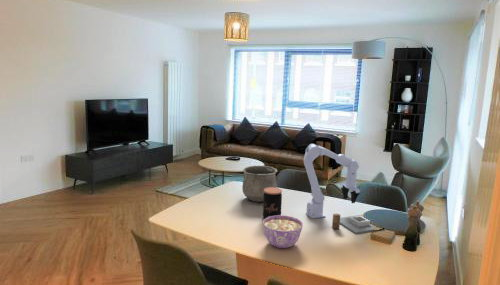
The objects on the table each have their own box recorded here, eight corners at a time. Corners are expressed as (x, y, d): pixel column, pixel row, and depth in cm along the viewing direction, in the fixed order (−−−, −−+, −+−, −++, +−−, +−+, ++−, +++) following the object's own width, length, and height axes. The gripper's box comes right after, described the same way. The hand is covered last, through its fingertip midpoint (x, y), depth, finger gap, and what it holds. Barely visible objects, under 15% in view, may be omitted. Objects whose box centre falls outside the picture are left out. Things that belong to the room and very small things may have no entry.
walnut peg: (334, 230, 201) (335, 216, 199) (330, 227, 204) (331, 214, 203) (340, 229, 202) (341, 215, 201) (336, 226, 206) (337, 213, 204)
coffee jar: (259, 220, 211) (260, 191, 208) (267, 214, 220) (268, 186, 217) (276, 224, 206) (277, 194, 203) (283, 218, 216) (284, 189, 212)
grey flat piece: (355, 234, 196) (356, 228, 196) (334, 220, 215) (334, 214, 214) (384, 229, 204) (385, 223, 203) (361, 216, 222) (362, 210, 221)
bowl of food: (279, 258, 168) (280, 234, 166) (254, 241, 184) (254, 220, 182) (310, 247, 180) (311, 225, 178) (283, 232, 196) (284, 212, 193)
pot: (235, 196, 251) (236, 166, 247) (264, 192, 262) (265, 163, 258) (252, 208, 229) (253, 176, 225) (283, 203, 240) (285, 172, 236)
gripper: (364, 182, 213) (362, 204, 215) (348, 175, 226) (347, 196, 228) (354, 183, 210) (352, 205, 212) (339, 176, 223) (337, 197, 225)
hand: (349, 200), depth 220 cm, fingers open, 7 cm apart
